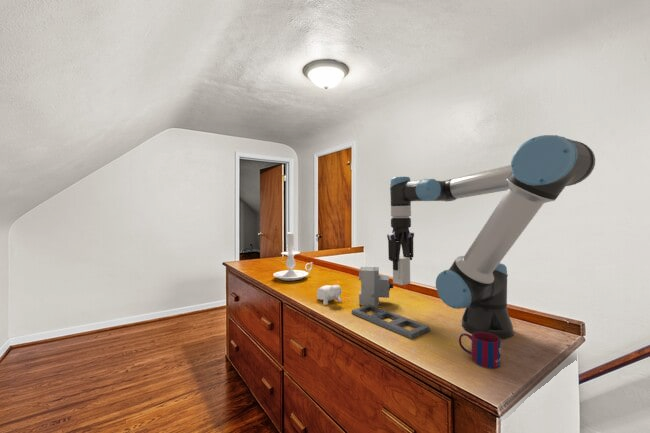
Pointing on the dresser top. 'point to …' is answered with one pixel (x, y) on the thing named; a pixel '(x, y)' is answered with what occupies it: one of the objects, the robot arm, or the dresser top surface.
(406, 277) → the peg
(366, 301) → the circuit breaker
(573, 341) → the dresser top surface
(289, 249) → the candlestick
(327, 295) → the white animal figurine
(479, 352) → the mug
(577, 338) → the dresser top surface
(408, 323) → the board with rectangular holes
